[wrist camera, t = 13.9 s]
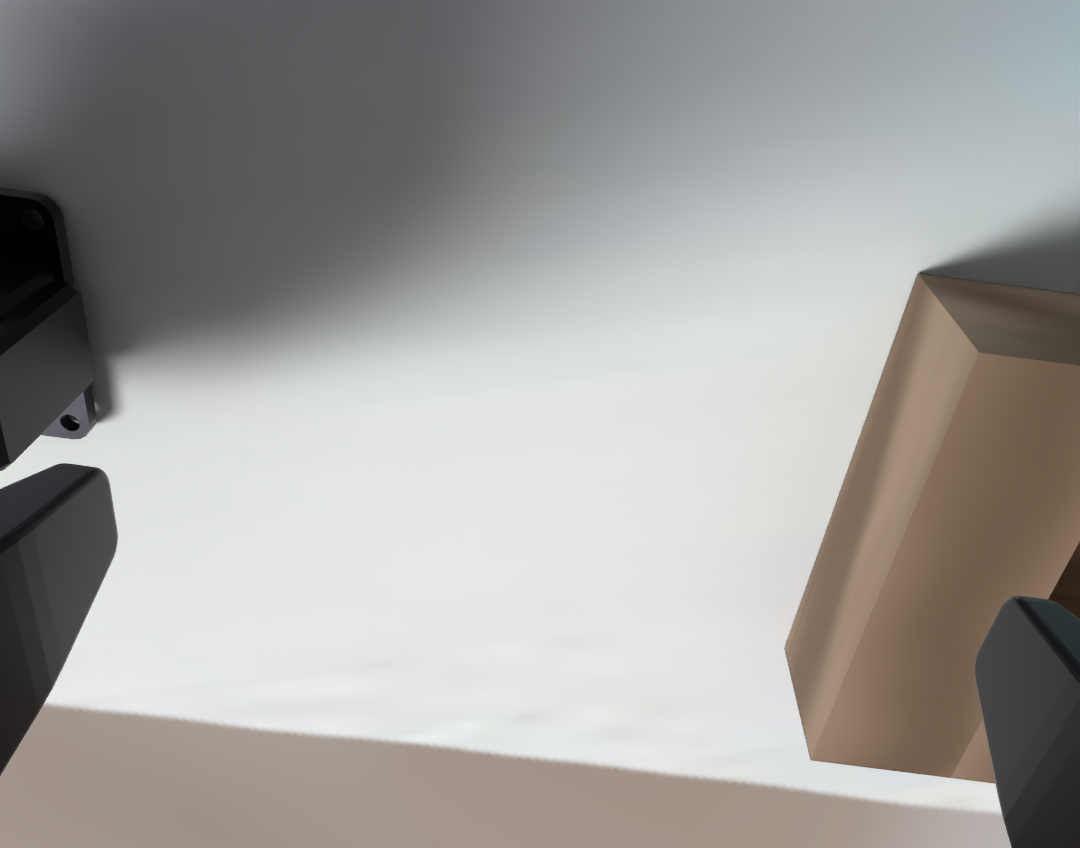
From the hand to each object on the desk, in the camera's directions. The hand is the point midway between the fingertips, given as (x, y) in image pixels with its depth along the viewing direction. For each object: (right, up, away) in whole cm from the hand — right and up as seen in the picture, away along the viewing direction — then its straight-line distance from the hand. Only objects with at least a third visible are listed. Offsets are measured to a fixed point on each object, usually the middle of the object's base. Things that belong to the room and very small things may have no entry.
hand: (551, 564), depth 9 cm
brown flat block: (+14, -1, +15) cm, 20 cm away
